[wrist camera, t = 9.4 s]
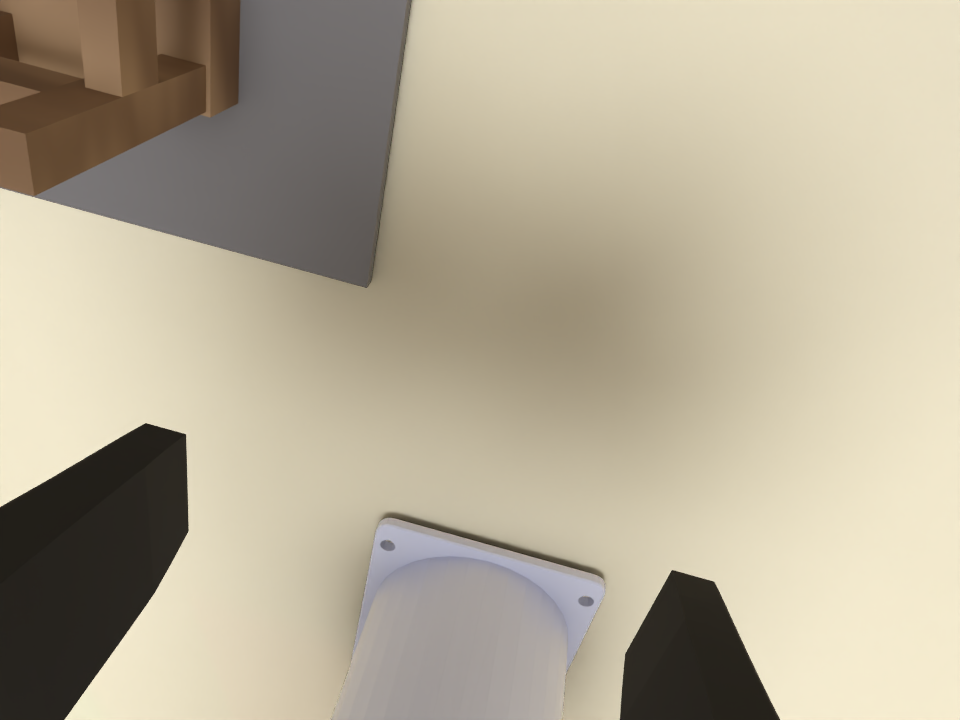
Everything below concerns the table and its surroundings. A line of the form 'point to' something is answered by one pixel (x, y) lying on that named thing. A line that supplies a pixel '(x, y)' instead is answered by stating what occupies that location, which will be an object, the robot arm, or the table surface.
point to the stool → (106, 79)
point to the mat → (276, 144)
